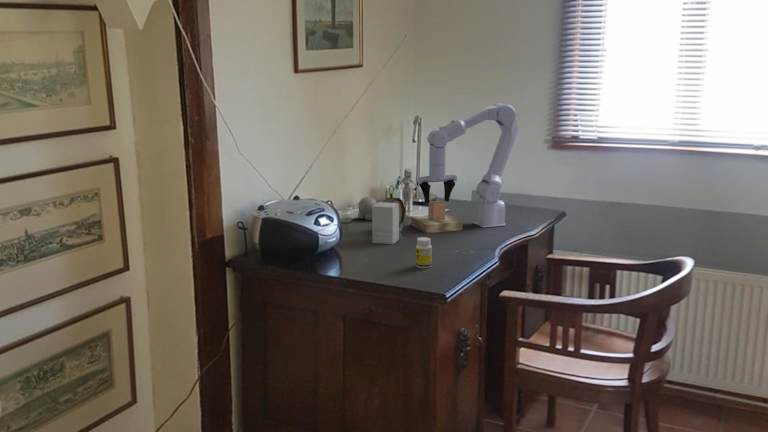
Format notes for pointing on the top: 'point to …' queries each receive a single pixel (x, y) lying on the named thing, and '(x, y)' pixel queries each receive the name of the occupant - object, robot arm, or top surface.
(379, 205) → the supplement box
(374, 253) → the top surface
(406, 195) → the human figurine
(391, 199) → the alarm clock
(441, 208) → the block
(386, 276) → the top surface
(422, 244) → the supplement bottle
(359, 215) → the chubby cartoon animal
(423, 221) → the plinth
